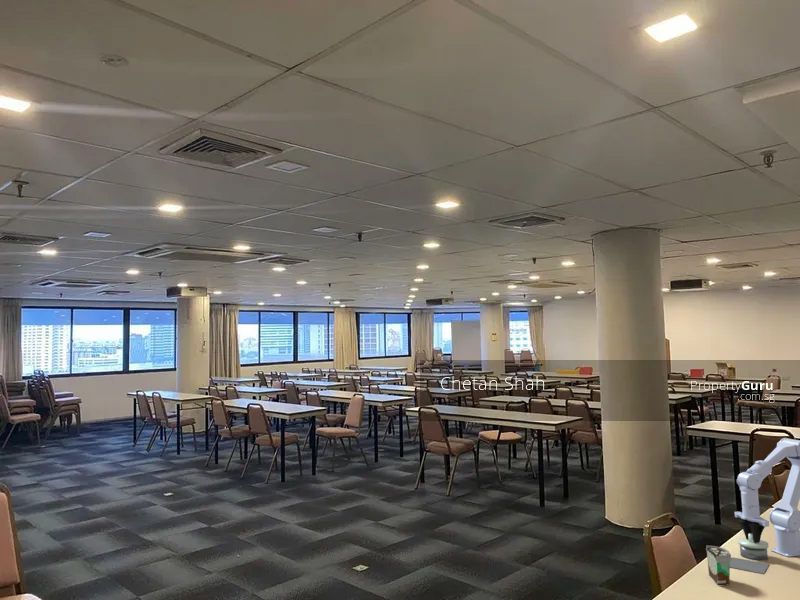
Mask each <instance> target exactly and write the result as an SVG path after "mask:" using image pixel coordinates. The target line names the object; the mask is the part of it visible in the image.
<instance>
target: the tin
mask: <svg viewBox="0 0 800 600" xmlns="http://www.w3.org/2000/svg"><path fill="white" fill-rule="evenodd" d="M739 551H740V557H743V558H745V559H746V560H751V561H767V560H768V557H769V555H768V548H766V549H753V548H748V547H744V546H741V545H740V544H739Z"/></svg>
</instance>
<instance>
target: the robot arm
mask: <svg viewBox="0 0 800 600" xmlns="http://www.w3.org/2000/svg"><path fill="white" fill-rule="evenodd" d="M785 458H787V460H789V461H790V463H791V468H790V469H789V475H788V477H787V481H786V483H785V488H784V491H783V494H782V498H781V500H780V502H777V503H776V504H774V507H773V508H772V509H771V511H770V513H769V516H768V518H769V520H767V519H765V518H763V517H761V516H760V500H759V489H760V488H761V486H762V482H763V481H764V479H765V478H766V477H767V476H768V475H770V474H771V473H772V471H773V470H772V468H773V467H775V465H777V464H778V463H780V462H781V461H782V460H784V459H785ZM736 484H737V485H738V487H739V491H740V498H741V508H742V509H741V511H734V517H735V518H740V520H738V524H739V525H740V527H741V528H742V531H743V534H744V535H745V536H744V537H745V538H746V539H747V540H748V533H752V534H753V541H754V542H755V543H759V542H760V540H761V537H762V534H763V531H764V529H765V528H767V527H770V523H771V525H773V528H774V530H775V531H774V535H775V545H776V546H775V547H776V548H771V549H770V551H771V552H774V553H777V554H780V555H782V556H784V557H788V558H790V557H798V556H800V510H799V508H798V506H799V502H800V440H799V439H792V438H787V437H783V438H781V439H780V440H779V441H778V442H777V443H776V447H775V448H774V449H773V450H772V451H771V452H770V453H769V454H768V455H767V457H766V458H765V459H764V460H761V459H760V460H756V461H754V464H753V465H751V467H750V468H747V470H746V471H743V472H740V473H739V474H738V475H737V479H736Z"/></svg>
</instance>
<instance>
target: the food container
mask: <svg viewBox="0 0 800 600" xmlns="http://www.w3.org/2000/svg"><path fill="white" fill-rule="evenodd" d="M705 551H706V558H707V559H706V560H707V570H708V576H709V578H710V579H711V578H712V579H713V580H714V581H713V580H712V579H711V580H712V581H713V582H714V583H715V584H716V586H717V585H724V586H728V585H730V580H731V579H730V574H731V573H730V571H731V570H730V569H731V568H730V561H731V560H732V555H731V553H730V551H729V550H727V549H726V548H722V547H720V546H716V545H706V548H705ZM727 584H728V585H727Z"/></svg>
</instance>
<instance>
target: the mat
mask: <svg viewBox="0 0 800 600" xmlns="http://www.w3.org/2000/svg"><path fill="white" fill-rule="evenodd" d="M731 558H732V560H731V561H730V569H735V570H740V571H744V572H745V571H746V572H751V573H755V574H761V575H765V572H766V571H767V570H768V568H769V566H770V563H766V562H761V561H757V560H751V559H746V558H745V559H743V558H740V557H734V556H731Z"/></svg>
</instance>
